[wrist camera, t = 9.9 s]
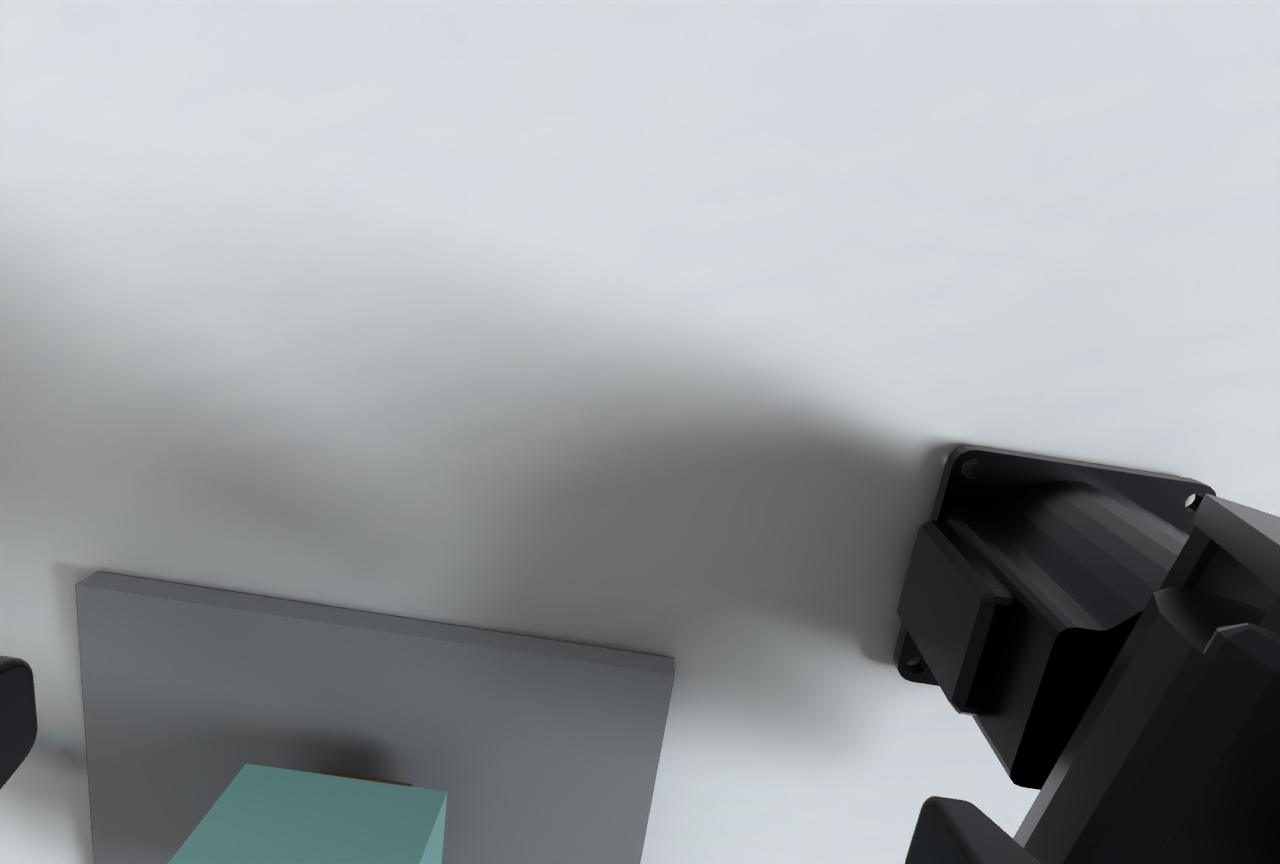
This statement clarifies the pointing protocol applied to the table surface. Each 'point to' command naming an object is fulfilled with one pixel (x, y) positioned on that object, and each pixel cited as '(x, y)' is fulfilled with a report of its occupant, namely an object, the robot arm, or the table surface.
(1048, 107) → the table surface
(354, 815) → the teal rimmed cube
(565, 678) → the slate board
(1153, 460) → the table surface
